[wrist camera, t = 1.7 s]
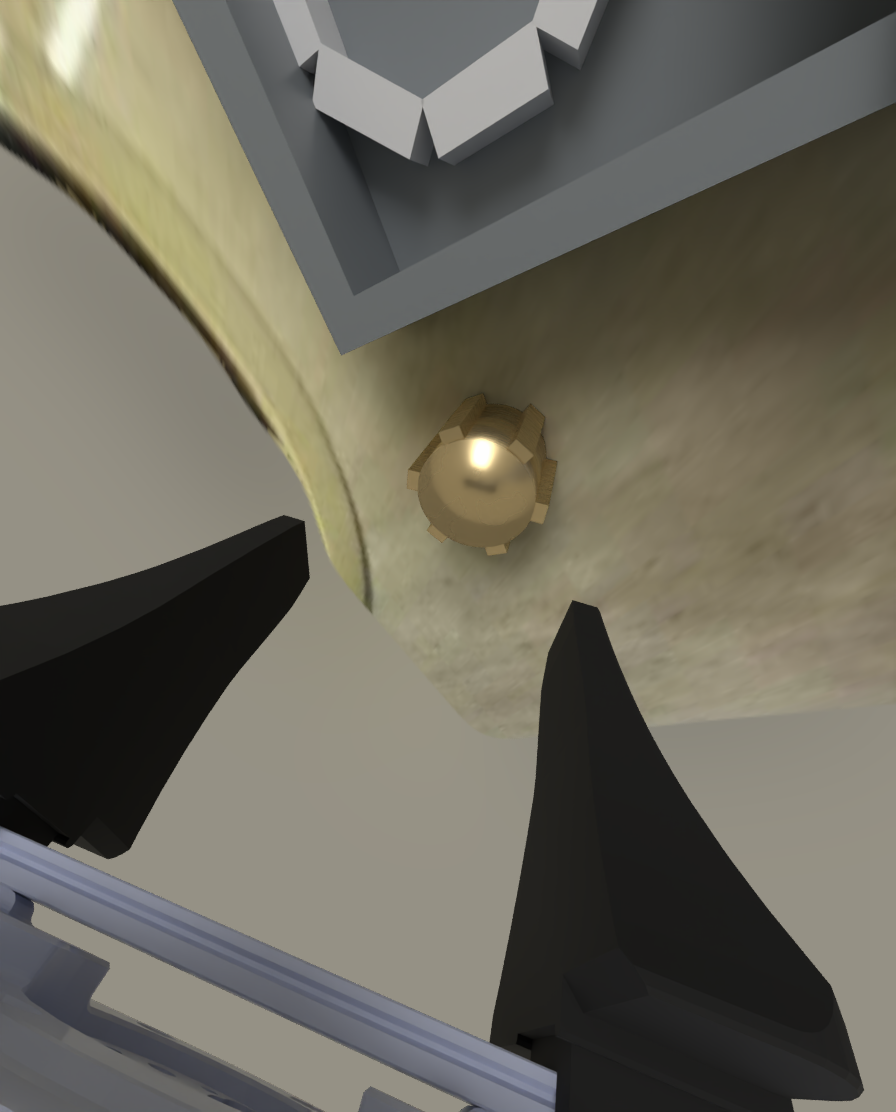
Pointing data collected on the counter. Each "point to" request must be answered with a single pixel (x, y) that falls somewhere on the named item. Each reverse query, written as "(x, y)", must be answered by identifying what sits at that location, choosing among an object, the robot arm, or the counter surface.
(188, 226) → the counter surface
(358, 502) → the counter surface
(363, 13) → the housing
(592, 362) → the counter surface
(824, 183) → the counter surface
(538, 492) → the ribbed brass cylinder
